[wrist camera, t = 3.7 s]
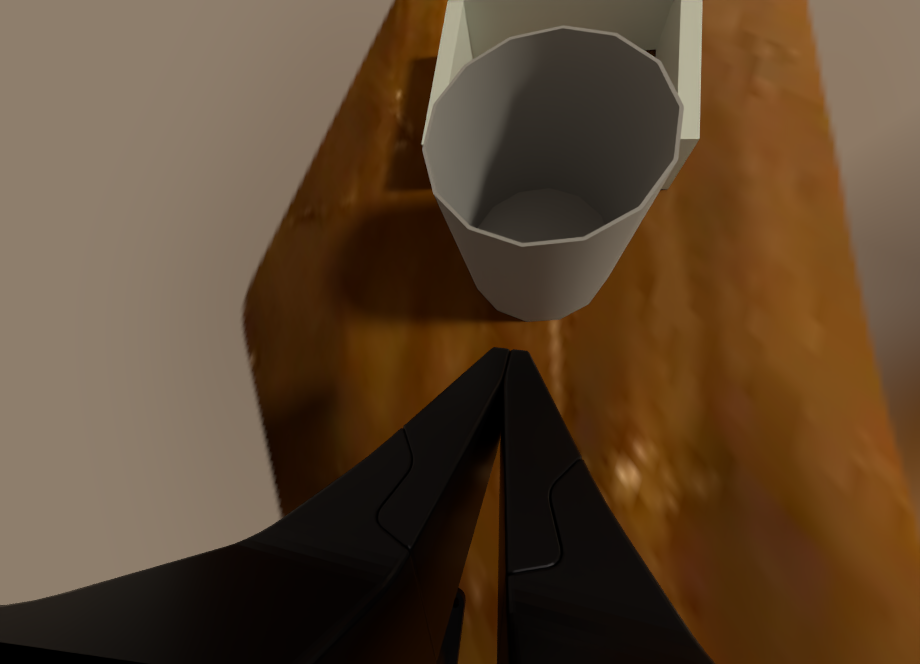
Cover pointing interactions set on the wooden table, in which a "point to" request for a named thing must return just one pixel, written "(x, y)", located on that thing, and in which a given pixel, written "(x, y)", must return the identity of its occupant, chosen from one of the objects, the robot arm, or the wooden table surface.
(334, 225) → the wooden table surface
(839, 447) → the wooden table surface
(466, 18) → the u-shaped wall frame
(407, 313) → the wooden table surface
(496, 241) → the cup
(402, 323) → the wooden table surface
